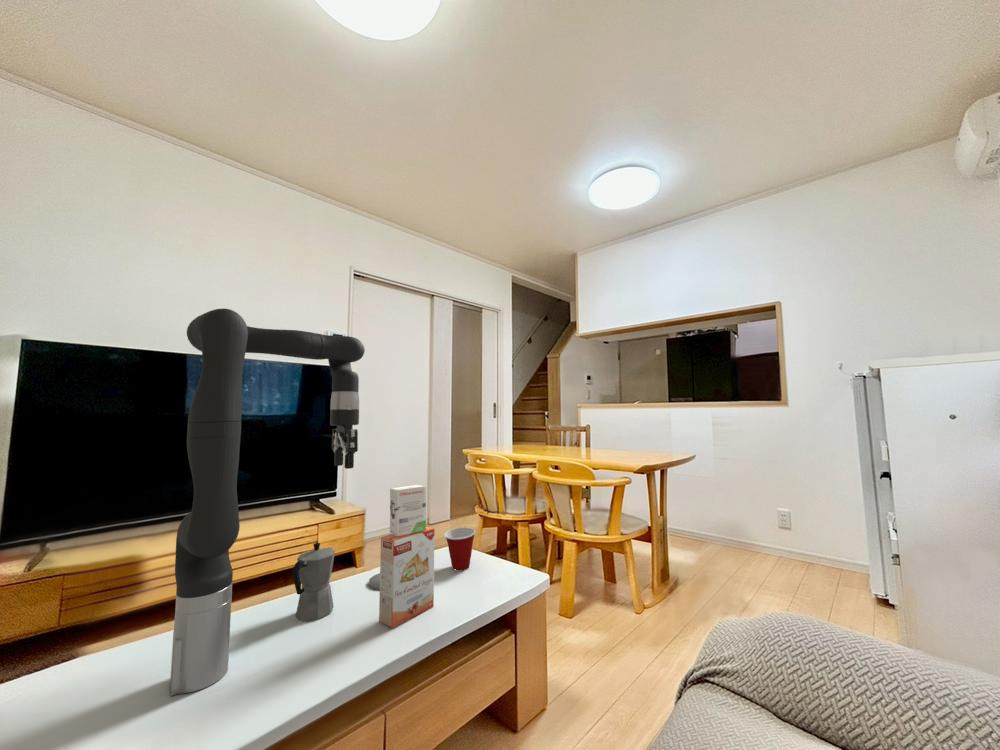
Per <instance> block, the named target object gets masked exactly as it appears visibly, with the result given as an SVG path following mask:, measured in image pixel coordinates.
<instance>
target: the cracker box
mask: <svg viewBox="0 0 1000 750" xmlns="http://www.w3.org/2000/svg"><path fill="white" fill-rule="evenodd" d="M379 563H380V564H379V565H380V566H379V573H380V590H379V608H378V609H379V611H378V612H379V613H378V615H379V616H378V623H382V624H383V625H385V626H386V627H389V628H391V629H393V628H396V627H397V626H399V625H401V624H403V623H404V622H406V621H407V622H408V620H411V619H413V618H414V617H416V616H418V615H420V614H423V613H424V612H426V611H427V610H429V609H431V608H433V607H434V606H435V605H434V603H435V601H434V600H435V599H434V595H435V594H434V593H435V588H434V585H435V584H434V583H435V528H434V527H430V526H426V530H425V531H421V532H416V533H411V534H407V535H402V536H398V537H397V536H395V535H393V534H391V533H390V534H388V535H385V536H381V538H380V562H379Z"/></svg>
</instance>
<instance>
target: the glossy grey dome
mask: <svg viewBox="0 0 1000 750" xmlns="http://www.w3.org/2000/svg"><path fill="white" fill-rule="evenodd" d="M368 586H369V588H371V587H372V588H374V589H373V590H376V589H380V572H379V573H377V574H375V575H373V576H371V577H370V578H369V579H368ZM372 588H371V589H372Z"/></svg>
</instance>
